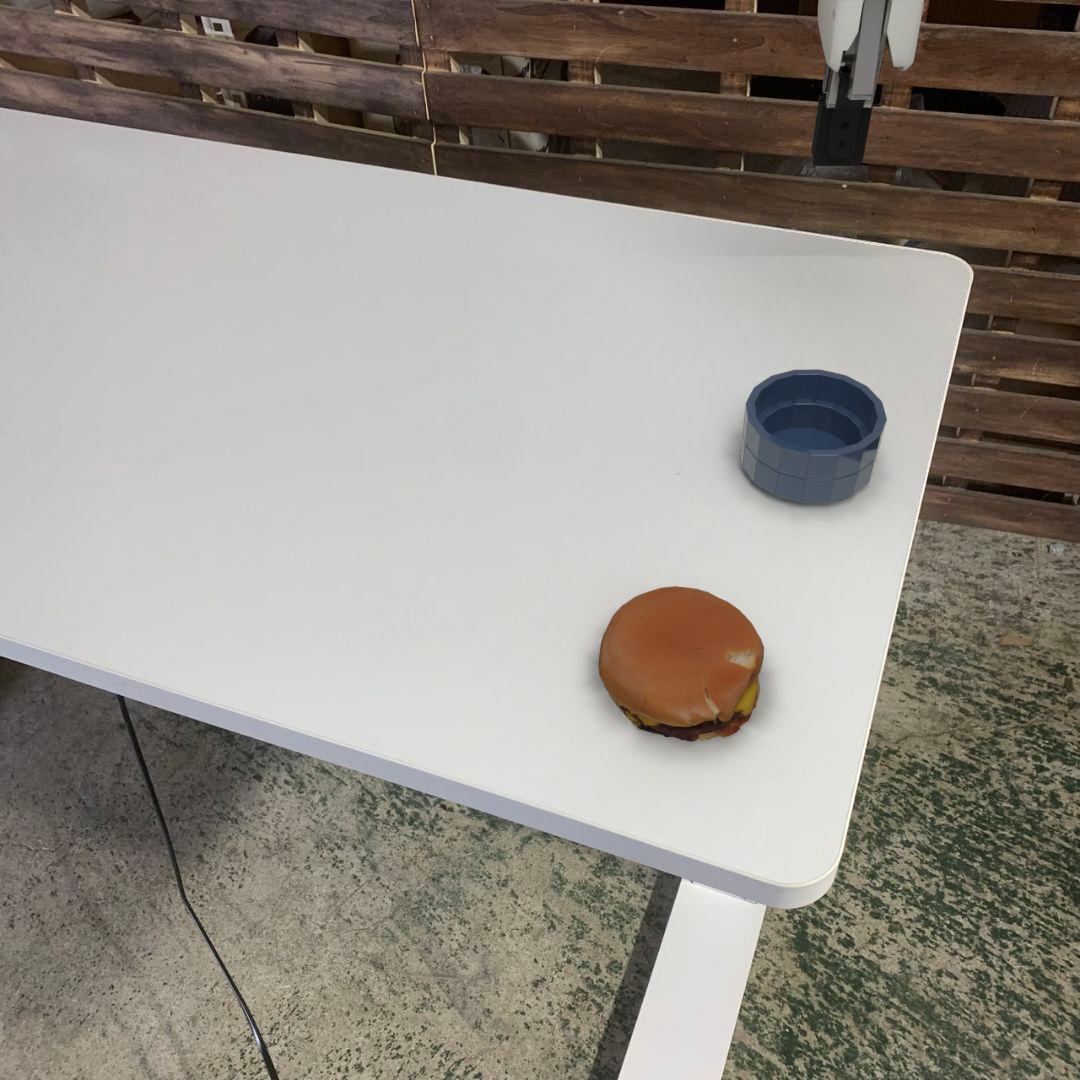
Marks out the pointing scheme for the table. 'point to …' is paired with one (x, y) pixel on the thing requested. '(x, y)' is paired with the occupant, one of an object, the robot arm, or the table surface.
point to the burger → (682, 663)
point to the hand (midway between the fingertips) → (835, 159)
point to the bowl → (811, 435)
